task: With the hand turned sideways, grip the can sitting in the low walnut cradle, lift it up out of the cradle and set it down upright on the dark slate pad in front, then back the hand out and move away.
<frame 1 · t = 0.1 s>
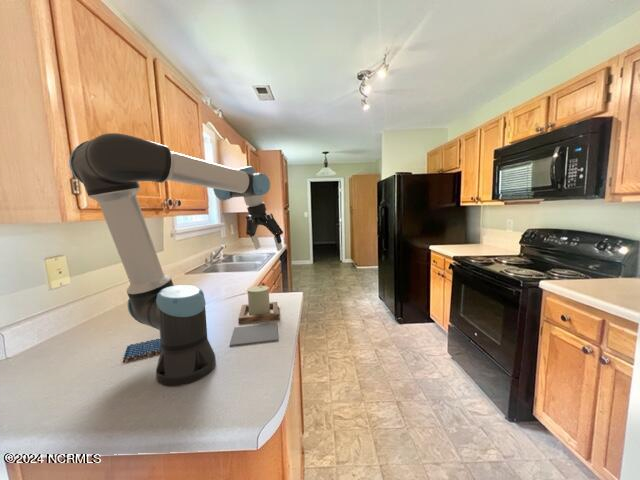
hand: (268, 249, 121), 28 cm above the countertop, tool tilted 20°, fingers open, 13 cm apart
cradle: (259, 314, 117), on the countertop
can: (259, 314, 117), resting in cradle
pad: (255, 334, 97), on the countertop
woven mat: (145, 353, 88), on the countertop
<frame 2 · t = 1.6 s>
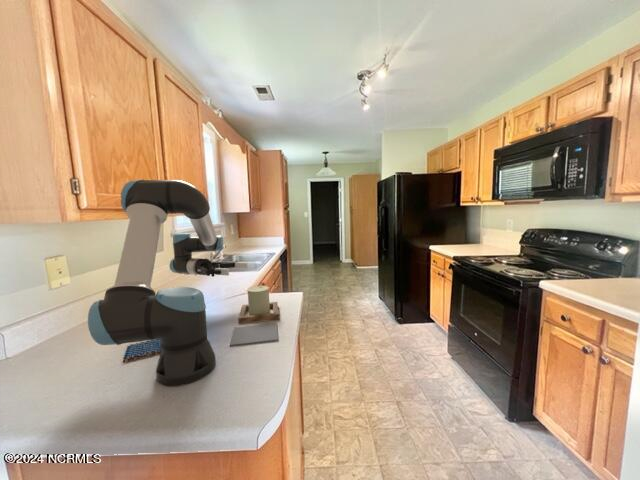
hand: (238, 268, 118), 20 cm above the countertop, tool horizontal, fingers open, 13 cm apart
nothing on the countertop moved.
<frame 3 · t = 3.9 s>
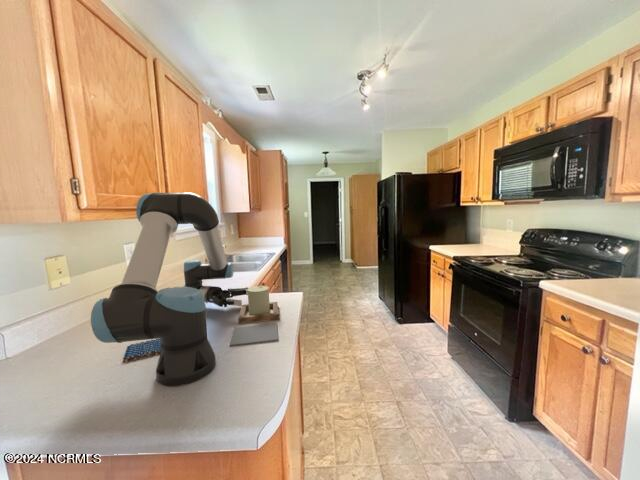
hand: (250, 297, 118), 7 cm above the countertop, tool horizontal, fingers open, 13 cm apart
nothing on the countertop moved.
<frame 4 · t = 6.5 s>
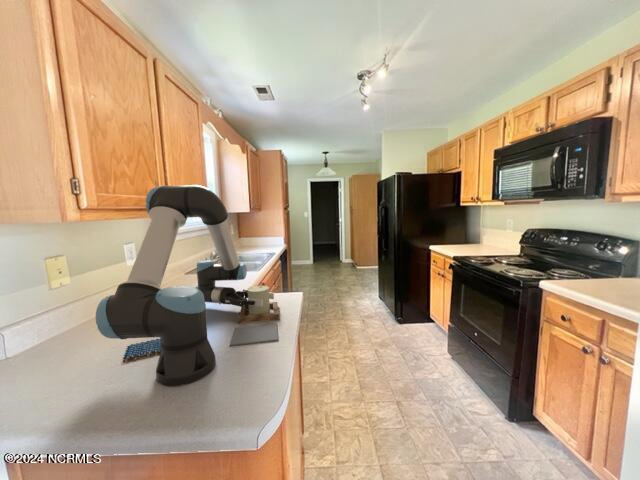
hand: (268, 299, 115), 7 cm above the countertop, tool horizontal, fingers closed on can, 9 cm apart
can: (259, 314, 117), resting in cradle, touching gripper
everything else where it was.
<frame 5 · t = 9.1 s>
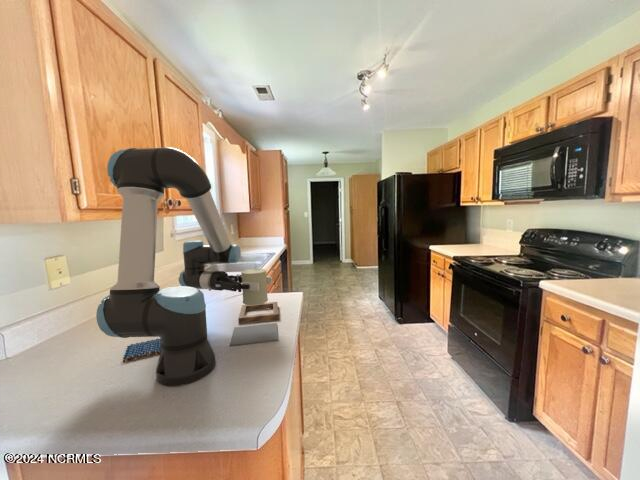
hand: (265, 283, 98), 18 cm above the countertop, tool horizontal, fingers closed on can, 9 cm apart
can: (255, 301, 101), point 11 cm above the countertop, touching gripper
everything else where it was.
when the fingers open (9 cm above the countertop, at t = 12.1 s): can drops 1 cm, resting on pad.
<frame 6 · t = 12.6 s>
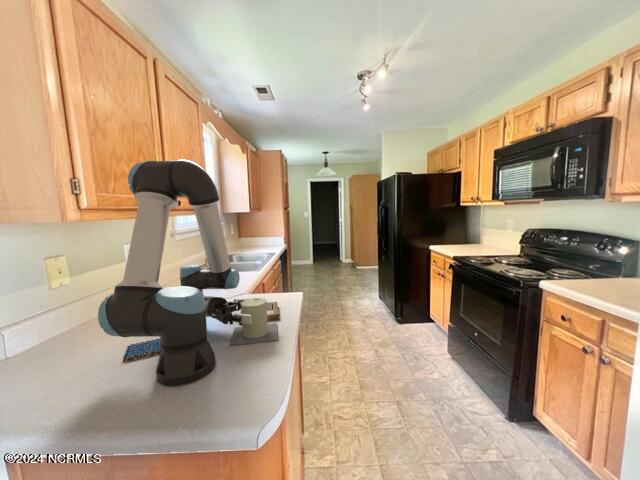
hand: (261, 312, 95), 9 cm above the countertop, tool horizontal, fingers open, 13 cm apart
can: (255, 333, 97), resting on pad
everything else where it was.
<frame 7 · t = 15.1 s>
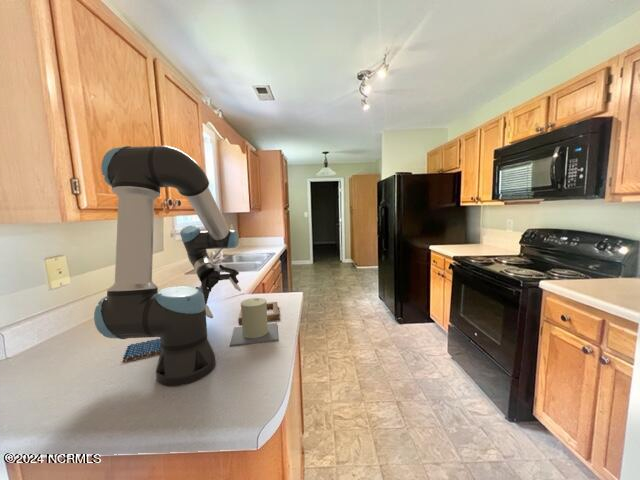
hand: (224, 302, 97), 12 cm above the countertop, tool tilted 65°, fingers open, 13 cm apart
nothing on the countertop moved.
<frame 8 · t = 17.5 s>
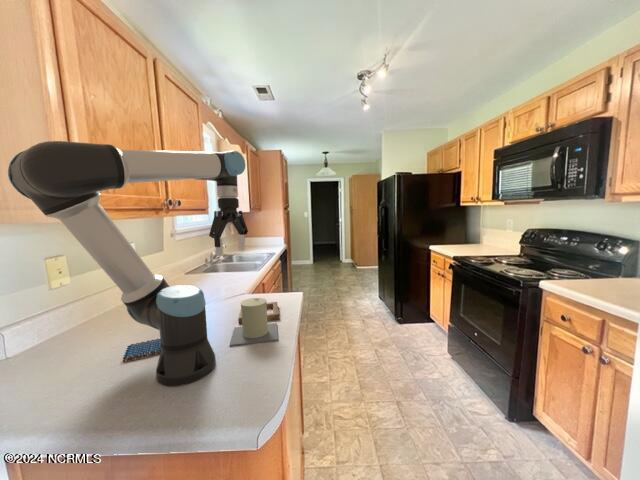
hand: (231, 253, 104), 29 cm above the countertop, tool pointing down, fingers open, 13 cm apart
nothing on the countertop moved.
at the end: can inside the target area on the pad (0.4 cm from its centre), point 0.4 cm above the pad's base; can tilted 0°; the gripper is holding nothing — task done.
